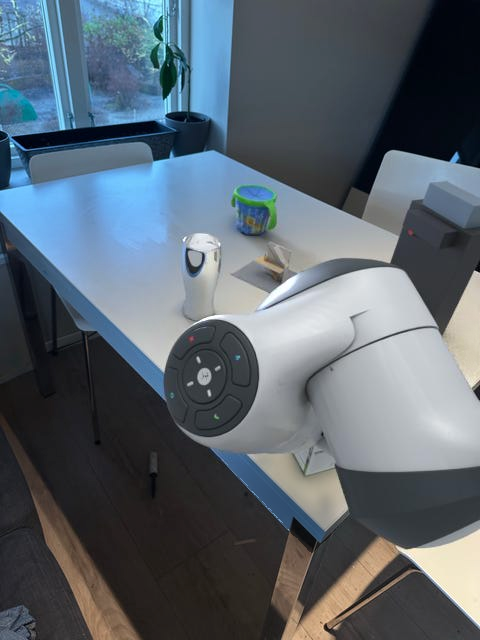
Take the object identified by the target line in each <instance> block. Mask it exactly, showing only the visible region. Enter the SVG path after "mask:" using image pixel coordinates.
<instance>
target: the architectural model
mask: <svg viewBox="0 0 480 640" xmlns="http://www.w3.org/2000/svg"><path fill="white" fill-rule="evenodd" d="M291 256H292V250H291V249H288V248H286V247H285V246H282V245H279V244H277V243H275V242H272V241H269V242H268V245H267V253H265V254H264V255H260V256H258V257H256V258H255V259H254V260H252V261H250V262H249V263H247V264H245V265H244V266H243V267H240V268H239V269H237V270H236V271H234V272H233V273H231V274H230V275H231V276H233V277H236V278H237V279H240V280H242V281H244V282H245V283H248V284H250V285H252V286H255V287H257V288H259V289H260V290H263V291H264V292H267V293H269V294H271V293H272V292H273V291H274V290H275V289H276V288H278V287H279V286H280V285H282V284H283V283H284V282H286V281H287V280H289V279H290V278H292V277H293V276H295V275H297V274H299V273H298V272H295V271H294V270H291V269H289V268H290V261H291Z"/></svg>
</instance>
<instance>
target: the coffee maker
mask: <svg viewBox="0 0 480 640" xmlns="http://www.w3.org/2000/svg"><path fill="white" fill-rule="evenodd" d="M428 183H429V184H428V185H427V188H426V192H425V194H424V197H423V198H422V199H421V198H420V199H412V200H411V201H410V205H409V207H408V209H407V211H406V212H405V213H406V214H405V217H404V220H403V222H402V225H401V226H402V227H401V231H400V233H399V236H398V239H397V242H396V245H395V246H394V247H395V248H394V250H393V253H392V256H391V259H390V262H389V263H390V264H393V265H396V266H398V267H400V268H402V269H404V270H405V271H406V272H407V275H408V277H409V278H410V280H411V282H412V283H413V285H414V286H415V288H416V290H417V292H418V293H419V295H420V297H421V298H422V300H423V302H424V303H425V305H426V307H427V308H428V310H429V312H430V314H431V315H432V317H433V319H434V320H435V322H436V324H437V326H438V327H439V329H438V331H439V332H440V334H441V336H442V337H443V336H444V334H445V332H446V330H447V328H448V325H449V324H450V321H451V320H452V318H453V316H454V314H455V311H456V309H457V307H458V305H459V303H460V301H461V299H462V297H463V295H464V293H465V291H466V289H467V287H468V285H469V283H470V281H471V280H472V279H471V278H472V277H473V274H474V272H475V270H476V268H477V266H478V264H479V262H480V197H479V196H477V195H475V194H474V193H473V194H472V193H471V192H468V191H467V190H465V189H462V188H460V187H459V186H457V185H455V184H453V183H451V182H448V181H447V180H446V181H445V180H444V181H433V182H428Z"/></svg>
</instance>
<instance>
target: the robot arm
mask: <svg viewBox="0 0 480 640" xmlns="http://www.w3.org/2000/svg"><path fill="white" fill-rule="evenodd" d="M438 329H439V327H438V326H437V324H436V322H435V320H434V319H433V317H432V315H431V314H430V312H429V310H428V308H427V307H426V305H425V303H424V302H423V300H422V298H421V297H420V295H419V293H418V292H417V290H416V288H415V286H414V285H413V283H412V282H411V280H410V278H409V277H408V275H407V272H406V271H405V270H404V269H402V268H400V267H398V266H396V265H393V264H390V262H387V261H383V260H378V259H370V258H360V257H358V258H357V257H339V258H333V259H329V260H325V261H324V262H319V263H318V264H316V265H313V266H311V267H308V268H307V269H304V270H302V271H300V272H299V273H298V274H297V275H295V276H293V277H292V278H290V279H289V280H287V281H286V282H284V283H283V284H282V285H280V286H279V287H278V288H276V289H275V290H274V291H273V292H272V293H269V294H268V295H267V297H266V298H265V299H264V300H263V301H262V302H261V303H260V304H259V306H258V307H257V309H256V310H255V311H254V312H249V313H236V314H235V313H234V314H233V313H231V314H229V313H227V314H226V313H225V314H216V315H213V316H211V317H208V318H205V319H202V320H200V321H196V322H195V323H193V324H191V325H190V326H188V327H187V328H186V329H185V330H184V331H183V332H181V334H180V335H179V336H178V338H176V340H175V341H174V343H173V345H172V347H171V348H170V351H169V352H168V353H169V354H168V356H167V359H166V362H165V366H164V372H163V392H164V397H165V402H166V406H167V409H168V411H169V414H170V416H171V418H172V420H173V422H174V423H175V425H176V426H177V427H178V428H179V429H180V431H181V432H182V433H184V434H185V435H186V436H187V437H189V438H190V440H192V441H194V442H196V443H198V444H200V445H202V446H205V447H206V448H210V449H213V450H215V451H220V452H226V453H232V454H240V455H260V454H261V455H262V454H267V455H282V454H283V455H284V454H285V455H288V454H293V453H298V452H302V451H304V450H307V449H309V448H310V447H312V446H314V445H315V446H317V447H318V448H320V449H321V450H323V451H324V452H326V453H327V454H329V455H330V456H332V457H333V458H334V460H335V462H336V463H335V464H334V465H335V468H334V469H335V472H336V475H337V478H338V481H339V486H340V488H341V490H342V494H343V496H344V500H345V503H346V506H347V509H348V513H349V516H350V517H351V518H352V519H354V520H355V521H356V522H358V523H359V524H360V525H361V526H363V527H365V528H366V529H367V530H369V531H371V532H372V533H374V534H375V535H376V536H378V537H380V538H382V539H384V540H385V541H387V542H388V543H390V544H393V545H395V546H397V547H398V548H401V549H404V550H412V549H432V548H438V547H442V546H446V545H449V544H452V543H454V542H457V541H459V540H461V539H465V538H466V537H468V536H470V535H472V534H474V533H476V532H477V531H479V530H480V400H479V398H478V397H477V395H476V394H475V392H474V390H473V389H472V387H471V385H470V383H469V382H468V380H467V378H466V376H465V374H464V373H463V371H462V369H461V368H460V366H459V364H458V362H457V360H456V359H455V357H454V355H453V353H452V351H451V350H450V348H449V346H448V345H447V343H446V341H445V339H444V338H443V336H441V334H440V332H439V331H438Z"/></svg>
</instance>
